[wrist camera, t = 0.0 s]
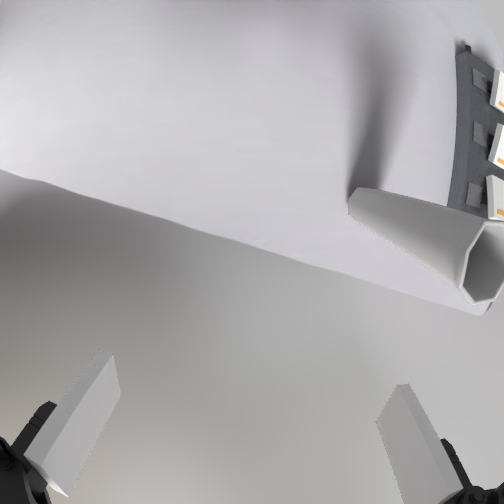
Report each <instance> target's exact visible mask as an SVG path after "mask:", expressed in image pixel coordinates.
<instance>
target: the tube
mask: <svg viewBox="0 0 504 504" xmlns="http://www.w3.org/2000/svg"><path fill="white" fill-rule="evenodd" d="M348 215H349V216H351V217H352V218H353V219H354V220H356V221H357V222H358V223H359V224H361V225H363V226H364V227H366V228H368V229H369V230H371V231H372V232H374V233H376V234H377V235H379V236H380V237H382V238H384V239H385V240H387V241H388V242H390V243H392V244H393V245H395V246H396V247H398V248H399V249H401V250H402V251H404V252H405V253H407V254H408V255H410V256H411V257H413V258H414V259H416V260H417V261H419V262H420V263H422V264H423V265H425V266H426V267H428V268H429V269H431V270H432V271H433V272H435V273H436V274H438V275H439V276H440V277H442V278H443V279H445V280H446V281H447V282H449V283H450V284H452V285H453V286H454V287H456V288H457V289H458V290H459V291H460V292H461V293H462V294H463V296H464V297H465V298H466V299H467V300H468V302H469V303H471V304H472V305H477V304H482V303H487V302H492V301H494V300H495V299H496V297H497V296H498V294H499V292H500V291H501V289H502V288H503V286H504V221H502V220H495V219H484V218H481V217H478V216H475V215H472V214H469V213H466V212H462V211H459V210H456V209H452V208H449V207H445V206H442V205H438V204H435V203H431V202H427V201H423V200H420V199H416V198H412V197H408V196H404V195H400V194H395V193H391V192H387V191H382V190H378V189H373V188H356V189H355V191H354V192H353V194H352V195H351V196H350V198H349V199H348Z"/></svg>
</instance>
